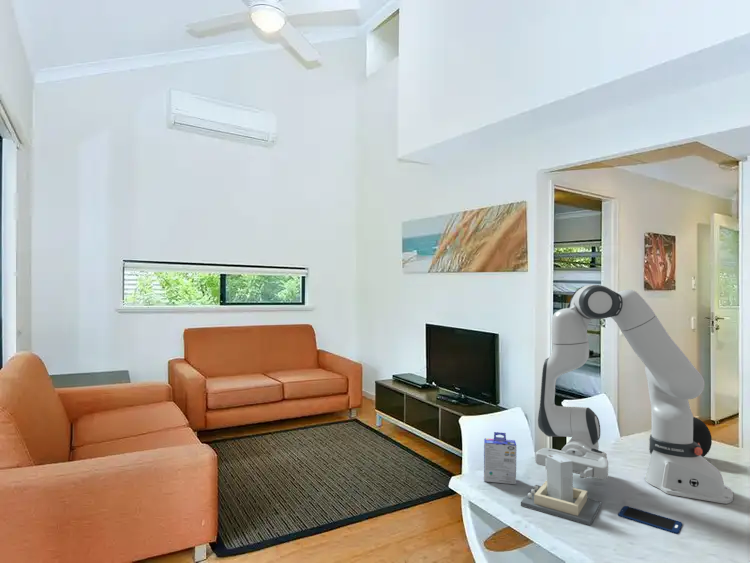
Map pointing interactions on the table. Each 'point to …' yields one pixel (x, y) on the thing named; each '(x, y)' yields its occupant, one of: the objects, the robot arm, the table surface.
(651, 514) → the cell phone
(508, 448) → the ink cartridge box
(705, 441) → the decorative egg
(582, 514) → the socket dock
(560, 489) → the skincare box
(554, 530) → the table surface
